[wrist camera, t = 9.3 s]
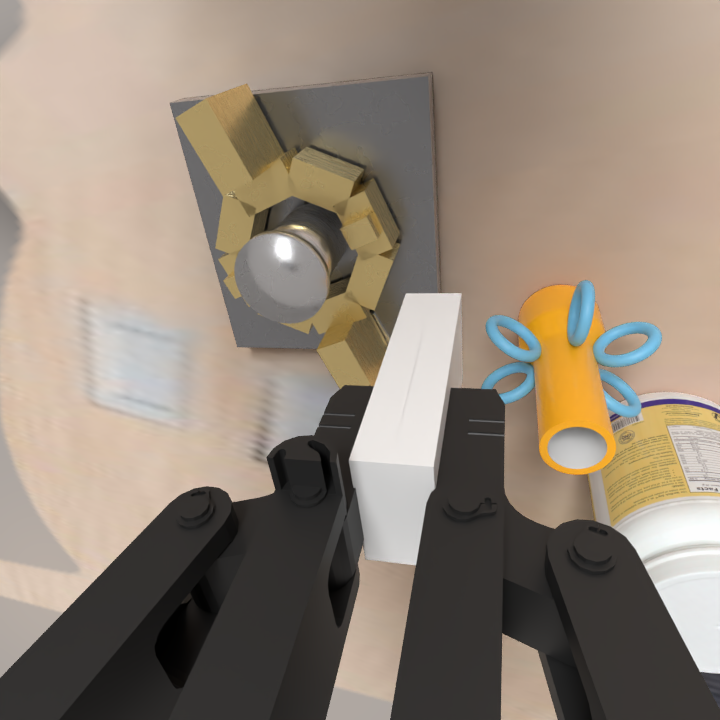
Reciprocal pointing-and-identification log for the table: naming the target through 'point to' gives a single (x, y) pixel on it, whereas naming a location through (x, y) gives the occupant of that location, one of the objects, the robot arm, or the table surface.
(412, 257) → the flange plate
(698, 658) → the supplement tub
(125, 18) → the table surface
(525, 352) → the cylinder
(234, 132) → the tan handled ring
